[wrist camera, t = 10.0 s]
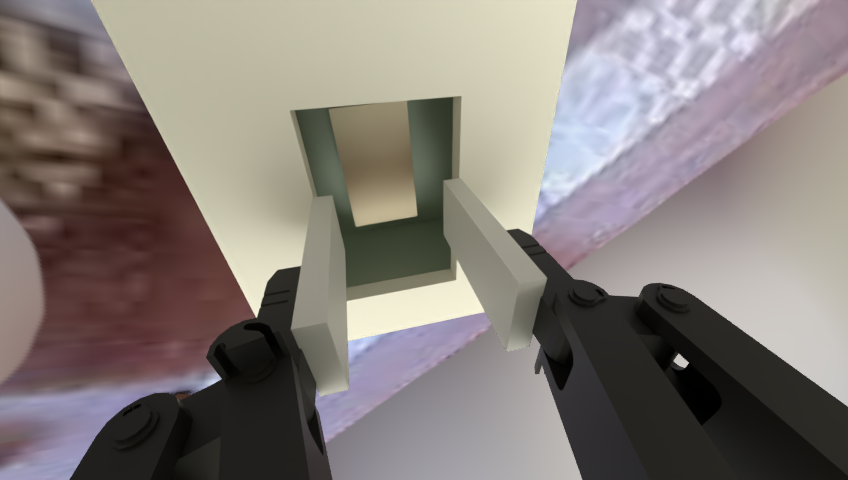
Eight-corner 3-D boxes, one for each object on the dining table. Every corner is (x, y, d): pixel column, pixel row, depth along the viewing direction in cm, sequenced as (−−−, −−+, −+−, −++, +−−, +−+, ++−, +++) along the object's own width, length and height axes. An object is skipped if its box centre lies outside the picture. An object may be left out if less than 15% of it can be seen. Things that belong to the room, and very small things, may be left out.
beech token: (330, 96, 18) (328, 109, 15) (395, 89, 19) (406, 99, 16) (353, 199, 22) (355, 226, 19) (406, 190, 23) (417, 215, 20)
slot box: (217, 17, 16) (89, -2, 8) (471, 9, 18) (579, -14, 10) (297, 249, 24) (276, 356, 16) (463, 223, 27) (517, 304, 18)
